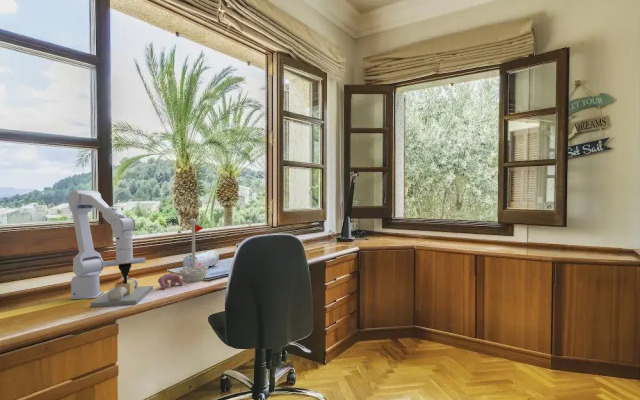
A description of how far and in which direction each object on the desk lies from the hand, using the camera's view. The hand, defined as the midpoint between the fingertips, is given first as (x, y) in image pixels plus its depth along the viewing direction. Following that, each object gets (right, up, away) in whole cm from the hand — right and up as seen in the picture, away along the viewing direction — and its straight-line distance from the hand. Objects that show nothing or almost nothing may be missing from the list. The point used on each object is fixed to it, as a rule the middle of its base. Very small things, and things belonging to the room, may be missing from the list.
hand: (125, 283), depth 139 cm
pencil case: (+9, -7, +61) cm, 62 cm away
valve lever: (-3, 0, +3) cm, 4 cm away
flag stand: (+14, -7, +37) cm, 40 cm away
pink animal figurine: (+8, -7, +23) cm, 25 cm away
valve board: (-4, -7, +7) cm, 11 cm away
